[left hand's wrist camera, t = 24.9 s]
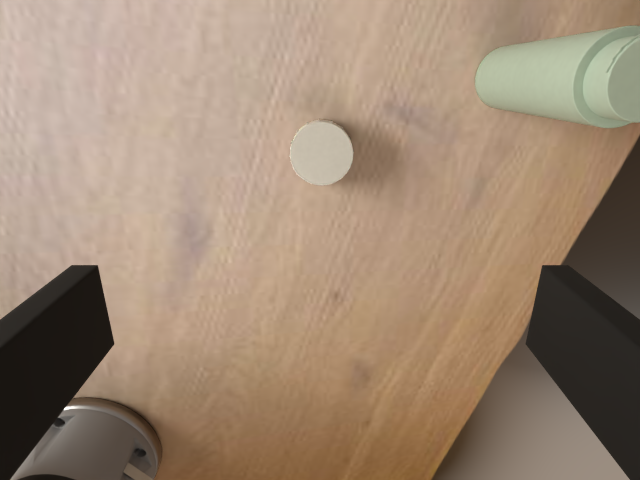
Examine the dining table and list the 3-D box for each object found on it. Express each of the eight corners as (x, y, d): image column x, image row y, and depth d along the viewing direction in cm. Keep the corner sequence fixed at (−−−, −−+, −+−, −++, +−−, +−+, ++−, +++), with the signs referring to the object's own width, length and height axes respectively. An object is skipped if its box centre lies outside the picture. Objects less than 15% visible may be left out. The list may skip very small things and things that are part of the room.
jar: (544, 56, 35) (728, 40, 19) (517, 115, 37) (665, 145, 21) (490, 37, 35) (632, 5, 19) (465, 98, 37) (576, 115, 21)
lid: (278, 144, 38) (276, 149, 36) (327, 105, 37) (327, 107, 35) (316, 191, 40) (316, 198, 37) (363, 155, 38) (366, 160, 36)
